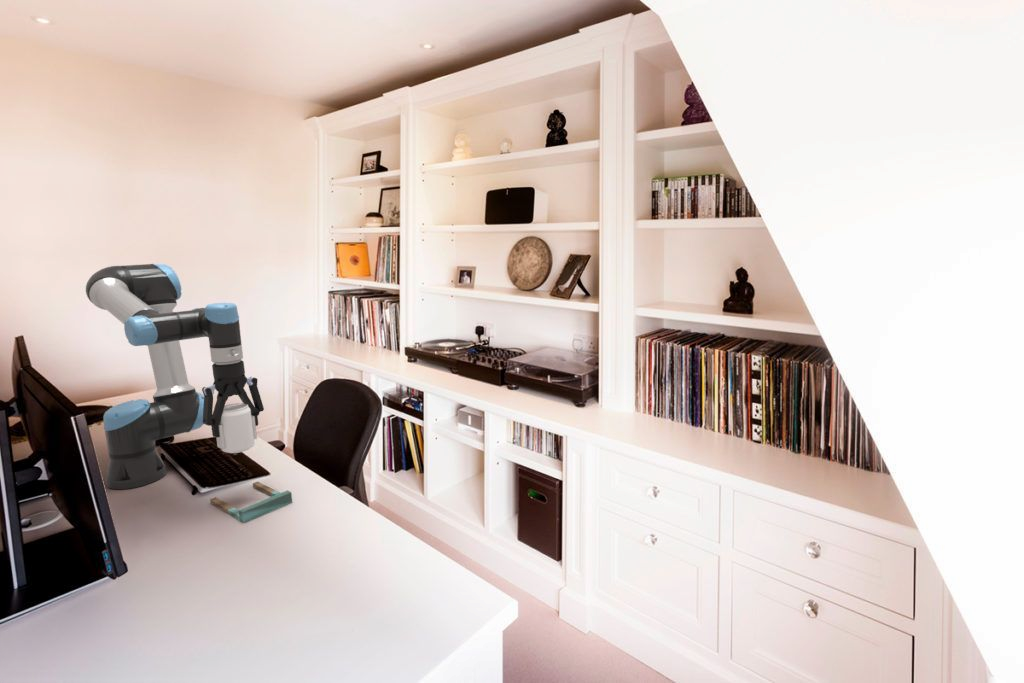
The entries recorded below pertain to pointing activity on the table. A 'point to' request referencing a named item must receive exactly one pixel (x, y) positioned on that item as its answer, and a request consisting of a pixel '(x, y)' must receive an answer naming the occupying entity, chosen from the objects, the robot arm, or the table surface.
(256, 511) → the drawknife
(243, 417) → the beverage can
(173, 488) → the table surface
